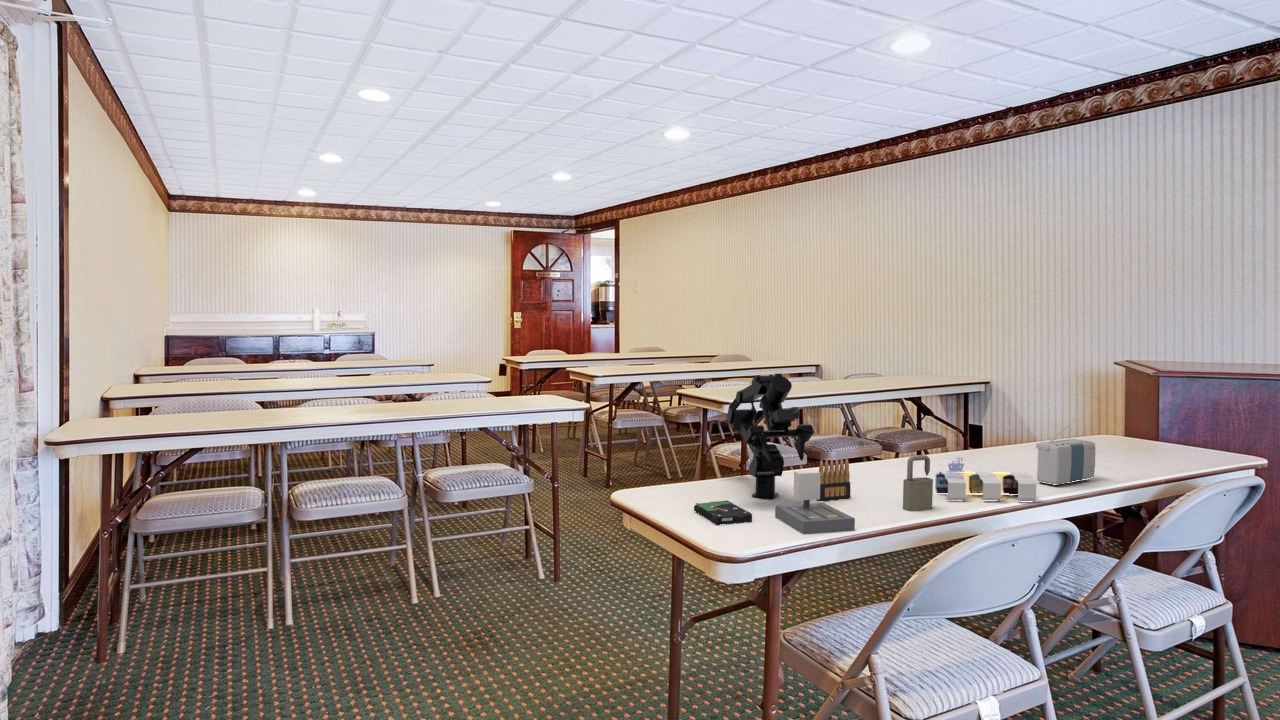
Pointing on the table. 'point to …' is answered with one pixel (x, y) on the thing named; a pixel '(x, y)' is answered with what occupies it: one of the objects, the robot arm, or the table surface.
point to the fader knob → (806, 486)
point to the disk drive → (723, 512)
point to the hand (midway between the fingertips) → (786, 460)
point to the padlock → (917, 487)
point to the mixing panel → (814, 518)
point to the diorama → (984, 483)
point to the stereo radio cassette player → (1065, 460)
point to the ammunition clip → (834, 481)
